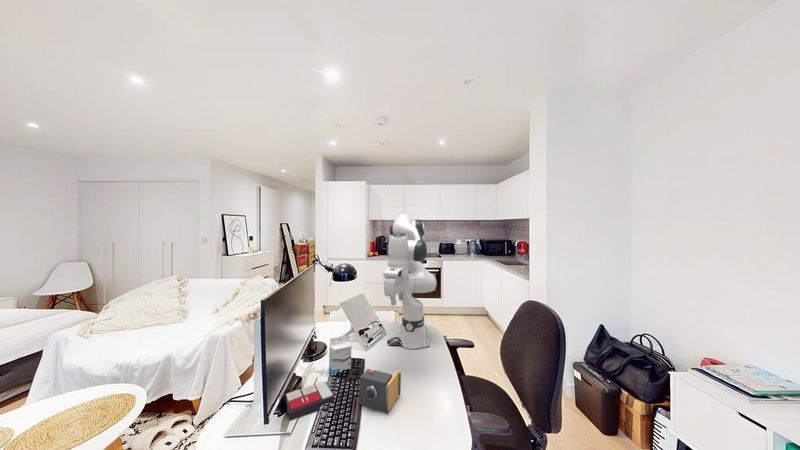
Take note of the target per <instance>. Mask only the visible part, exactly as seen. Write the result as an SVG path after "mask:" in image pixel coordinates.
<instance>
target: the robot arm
mask: <svg viewBox="0 0 800 450" xmlns="http://www.w3.org/2000/svg"><path fill="white" fill-rule="evenodd" d="M388 229H389V230H388V233H389V238H388V239H389V240H388V243H387V245H386V256H387V257H388V260H387V267H386V268H385V270H384V271H383V274H382V277H384V278H383V292H384V293H383V294H384V296H385V297H389V299H390V305H391V306H396V305H397V300H396V297H397V296H398V301H400V302H401V305H402V317H401V325H400V326H399V330H398V332H399V333H398V338H400V340H401V342H402V343H403V344H402V346H403V347H402V346H401V347H402V348H405V349H410V350H417V349H418V348H419V349H423V348H428V347H427V346H429V347H430V345H429V343H430V344H431V339H430V337H431V334H429V333H428V328H427V326H426V325H425V315H424V305H423V303H422V301H421V300H419V299H417V298H415V297H414V296H413V294H425V293H426V294H427V293H431V292H434V291H435V290H436V287H437V278H436V277H435V275H434V274H433V273H431V272H430V271H428V270H427V269H426V268H425V267H424V265H423V263H422V262H423V261H425V259H427V257H428V245H427V243H426V242H425V241H424V238H423V236H424V234H425V231H426V227H425V223H424V222H423V221H422V220H421V219H414V220H412V218H411V216H410V215H408V214H407V213H399V214H398V215H397V216H396V217H395V218H394V221H393V223H392V224H391V225H390V226H389V228H388ZM396 295H397V296H396ZM422 347H423V348H422Z"/></svg>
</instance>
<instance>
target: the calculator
mask: <svg viewBox="0 0 800 450" xmlns="http://www.w3.org/2000/svg"><path fill="white" fill-rule="evenodd" d="M285 395H286V404H287V409H286V412H287V415H288V419H289V421H293V420H297V419H299V418H302V417H305V416H307V415H310V414H312V413H316V412H317V411H320V410H319V408H320V407H321V406H322V405H324V404H326V403H330V402H334V403H335V394H334V393H333V391H332V388H330V385H328V382H327V380H326V381H325V380H324V381H321V382H317V383H316V384H310V385H307V386H305V387H301V388H300V389H295V390H292V391H290V392H288V393H286V394H285Z"/></svg>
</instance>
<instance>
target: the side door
mask: <svg viewBox="0 0 800 450" xmlns="http://www.w3.org/2000/svg"><path fill="white" fill-rule="evenodd" d="M401 380H402V372H400V370H396V372H395V373H394V374H393V375H392V378H391V380H390V381H389V382H388V384H387V385H386V404H385V412H384V413H385V414H389V412H390V410H391V409H392V407H393V405H394V404H395V402H396V401H397V399H398V398H399V396H401V387H402V386H401V385H402V384H401V383H402V381H401Z"/></svg>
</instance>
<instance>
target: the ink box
mask: <svg viewBox="0 0 800 450" xmlns="http://www.w3.org/2000/svg"><path fill="white" fill-rule="evenodd" d="M339 339H340V340H339ZM328 356H329V359H328V360H329V361H328V373H329V374H330V373H332V374H334V373H337V372H340V371H343V370H347V369H352V344H351V343H350V342H349V341H348V334H347V335H340V336H335V337H331V338H330V339H329V355H328Z"/></svg>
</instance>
